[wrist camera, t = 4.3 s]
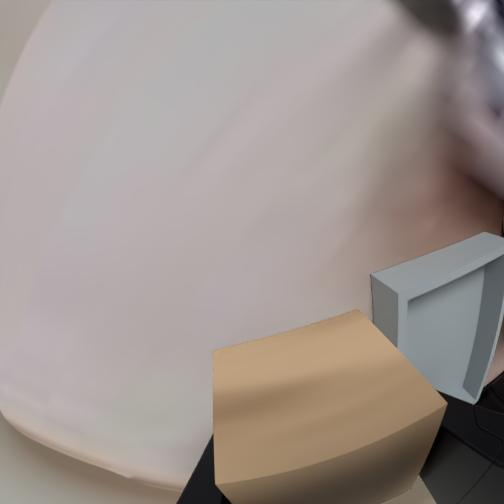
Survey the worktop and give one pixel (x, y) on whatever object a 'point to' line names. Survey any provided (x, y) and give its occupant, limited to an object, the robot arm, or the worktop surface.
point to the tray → (446, 312)
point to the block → (321, 416)
